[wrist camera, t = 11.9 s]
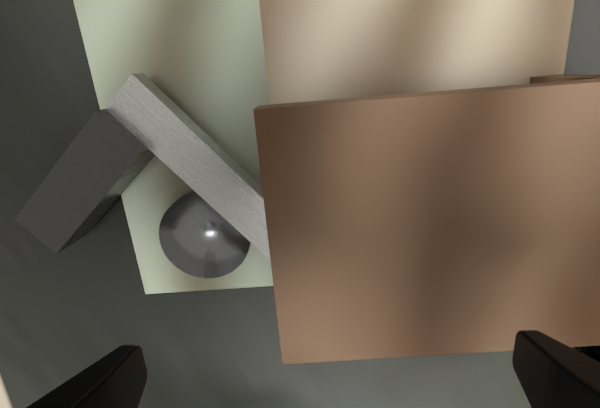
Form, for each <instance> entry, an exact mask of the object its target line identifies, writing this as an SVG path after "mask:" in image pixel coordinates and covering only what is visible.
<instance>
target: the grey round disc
mask: <svg viewBox="0 0 600 408" xmlns="http://www.w3.org/2000/svg"><path fill="white" fill-rule="evenodd" d="M159 240H160V244H161V247H162V250H163V252H164V254H165V255H166V257H167V258H168V259H169V261H170V262H171V263H172V264H173V265H174V266H175V267H177V268H178V269H180V270H181V271H183V272H185V273H187V274H189V275H191V276H195V277H199V278H217V277H221V276H224V275H227V274H229V273H231V272H232V271H234V270H235V269H237V268H238V267H239V266H240V265H241V264H242V262H243V261H244V259H245V258H246V256H247V253H248V250H249V247H250V244H251V242H250V241H248V240H247V239H246V238H245V237H244V236H243V235H242V234H241V233H240V232H239V231H238V230H236V229H235V228H234V227H233V226H232V225H231V224H230V223H229V222H228V221H227V220H226V219H224V218H223V217H222V216H221V215H220V214H219V213H218V212H217V211H216V210H215V209H214V208H212V207H211V206H210V205H209V204H208V203H207V202H206V201H205V200H204V199H203V198H202V197H200V196H199V195H198V194H197V193H196V192H195V191H194V190H192V191H189V192H187V193H185V194H184V195H182V196H181V197H179V198H178V199H177V200H176V201H175V202H174V203H173V204H172V205H171V206H170V207H169V208H168V210H167V211H166V212H165V214H164V215H163V217H162V219H161V222H160V226H159Z"/></svg>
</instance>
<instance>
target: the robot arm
mask: <svg viewBox="0 0 600 408" xmlns="http://www.w3.org/2000/svg"><path fill="white" fill-rule="evenodd" d="M513 367H514V370H515V372H516V375H517V377H518V379H519V381H520V383H521V385H522V388H523V390H524V392H525V394H526V396H527V399H528V401H529V403H530V405H531V407H532V408H600V345H599V346H583V347H582V351H581V353H580V352H578V351H576V350H574V349H572V348H570V347H569V346H567V345H565V344H563V343H561V342H559V341H557V340H555V339H553V338H551V337H549V336H547V335H546V334H544V333H542V332H540V331H537V330H521V331H518V332H517V334H516V337H515V344H514V352H513ZM146 381H147V369H146V365H145V360H144V356H143V352H142V349H141V347H140V346H139V345H137V344H134V345H122V346H120V347H118V348H117V349H115V350H114V351H112V352H111V353H109V354H108V355H106V356H105V357H103V358H101V359H100V360H98V361H97V362H95V363H94V364H92V365H91V366H89V367H88V368H86V369H85V370H83V371H82V372H80V373H79V374H77V375H75V376H74V377H72V378H71V379H69V380H68V381H66V382H65V383H63V384H62V385H60V386H59V387H57V388H56V389H54V390H52V391H51V392H49V393H48V394H46V395H45V396H43V397H42V398H40V399H39V400H37V401H36V402H34V403H33V404H31V405H29V406H28V407H26V408H138V405H139V402H140V399H141V396H142V393H143V390H144V387H145V384H146Z"/></svg>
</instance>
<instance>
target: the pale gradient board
mask: <svg viewBox="0 0 600 408" xmlns="http://www.w3.org/2000/svg"><path fill="white" fill-rule="evenodd" d="M73 1H74V6H75V10H76V14H77V18H78V22H79V26H80V30H81V34H82V38H83V42H84V46H85V50H86V54H87V58H88V62H89V66H90V71H91V75H92V79H93V83H94V87H95V91H96V95H97V99H98V103H99V107H100V110H102V109H105V108H106V107H107V106H108V104H109V103H110V102H111V100H112V99H113V98H114V96H115V95H116V94H117V93H118V91H119V90H120V89H121V87H122V86H123V85H124V83H125V82H126V81H127V79H128V78H129V77H130V75H131V74H139V73H144V74H145V75H146V76H147V77H148V78H149V79H150V80H151V81H152V82H153V83H154V84H155V85H156V86H157V87H158V88H159V89H160V90H161V91H163V92H164V93H165V94H166V95H167V96H168V97H169V98H170V99H171V100H172V101H173V102H174V103H175V104H176V105H177V106H178V107H179V108H180V109H181V110H182V111H183V112H184V113H185V114H187V115H188V116H189V117H190V118H191V119H192V120H193V121H194V122H195V123H196V124H197V125H198V126H199V127H200V128H201V129H202V130H203V131H204V132H205V133H206V134H207V135H208V136H209V137H210V138H212V139H213V140H214V141H215V142H216V143H217V144H218V145H219V146H220V147H221V148H222V149H223V150H224V151H225V152H226V153H227V154H228V155H229V156H230V157H231V158H232V159H233V160H234V161H236V162H237V163H238V164H239V165H240V166H241V167H242V168H243V169H244V170H245V171H246V172H247V173H248V174H249V175H250V176H251V177H252V178H253V179H254V180H255V181H256V182H257V183H258V184H259V185H261V186H262V190H263V199H264V208H265V216H266V225H267V234H268V242H269V251H270V260H271V261H270V260H269V259H268V258H267V257H266V256H265V255H264V254H263V253H262V252H260V251H259V250H258V249H257V248H256V247H255V246H254V245H253V244H252V243H251V244H250V247H249V250H248V253H247V256H246V258H245V259H244V261H243V262H242V264H241V265H240V266H239V267H238V268H237V269H235V270H234V271H232V272H231V273H229V274H227V275H224V276H221V277H217V278H199V277H195V276H191V275H189V274H187V273H185V272H183V271H181V270H180V269H178V268H177V267H175V266H174V265H173V264H172V263H171V262H170V261H169V259H168V258H167V257H166V255H165V254H164V252H163V250H162V247H161V244H160V240H159V226H160V222H161V219H162V217H163V215H164V214H165V212H166V211H167V210H168V208H169V207H170V206H171V205H172V204H173V203H174V202H175V201H176V200H177V199H178V198H179V197H181V196H182V195H184V194H185V193H187V192H189V191H192V190H193V189H192V188H191V187H190V186H188V185H187V184H186V183H185V182H184V181H183V180H182V179H181V178H180V177H179V176H178V175H177V174H175V173H174V172H173V171H172V170H171V169H170V168H169V167H168V166H167V165H166V164H165V163H163V162H162V161H161V160H160V159H159V158H158V157H157V156H156V155H155V156H154V157H153V158H152V159H151V160H150V161H149V163H148V164H147V165H146V166H145V167H144V168H143V170H142V171H141V172H140V173H139V174H138V175H137V177H136V178H135V179H134V180H133V181H132V182H131V184H130V185H129V186H128V187H127V188H126V190H125V191H124V192H123V193H122V194H121V197H122V201H123V205H124V209H125V213H126V217H127V221H128V225H129V229H130V233H131V237H132V241H133V245H134V249H135V254H136V258H137V262H138V266H139V270H140V274H141V278H142V282H143V286H144V290H145V294H155V293H170V292H185V291H201V290H216V289H231V288H247V287H262V286H274V294H275V303H276V312H277V320H278V329H279V338H280V346H281V355H282V364H295V363H312V362H329V361H346V360H363V359H379V358H396V357H413V356H430V355H447V354H464V353H481V352H498V351H514V344H515V337H516V334H517V332H518V331H521V330H537V331H540V332H542V333H544V334H546V335H547V336H549V337H551V338H553V339H555V340H557V341H559V342H561V343H563V344H565V345H567V346H569V347H582V346H599V345H600V75H564V69H565V62H566V55H567V48H568V41H569V34H570V27H571V20H572V13H573V7H574V0H73Z"/></svg>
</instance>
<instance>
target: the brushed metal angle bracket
mask: <svg viewBox="0 0 600 408" xmlns="http://www.w3.org/2000/svg"><path fill="white" fill-rule="evenodd" d="M155 155H156V156H157V157H158V158H159V159H160V160H161V161H162V162H163V163H165V164H166V165H167V166H168V167H169V168H170V169H171V170H172V171H173V172H174V173H175V174H177V175H178V176H179V177H180V178H181V179H182V180H183V181H184V182H185V183H186V184H187V185H188V186H190V187H191V188H192V189H193V190H194V191H195V192H196V193H197V194H198V195H199V196H200V197H202V198H203V199H204V200H205V201H206V202H207V203H208V204H209V205H210V206H211V207H212V208H214V209H215V210H216V211H217V212H218V213H219V214H220V215H221V216H222V217H223V218H224V219H226V220H227V221H228V222H229V223H230V224H231V225H232V226H233V227H234V228H235V229H236V230H238V231H239V232H240V233H241V234H242V235H243V236H244V237H245V238H246V239H247V240H248V241H250V242H251V243H252V244H253V245H254V246H255V247H256V248H257V249H258V250H259V251H260V252H262V253H263V254H264V255H265V256H266V257H267V258H268V259H269V260H270V251H269V242H268V234H267V225H266V216H265V208H264V199H263V190H262V186H261V185H259V184H258V183H257V182H256V181H255V180H254V179H253V178H252V177H251V176H250V175H249V174H248V173H247V172H246V171H245V170H244V169H243V168H242V167H241V166H240V165H239V164H238V163H237V162H236V161H234V160H233V159H232V158H231V157H230V156H229V155H228V154H227V153H226V152H225V151H224V150H223V149H222V148H221V147H220V146H219V145H218V144H217V143H216V142H215V141H214V140H213V139H212V138H210V137H209V136H208V135H207V134H206V133H205V132H204V131H203V130H202V129H201V128H200V127H199V126H198V125H197V124H196V123H195V122H194V121H193V120H192V119H191V118H190V117H189V116H188V115H187V114H185V113H184V112H183V111H182V110H181V109H180V108H179V107H178V106H177V105H176V104H175V103H174V102H173V101H172V100H171V99H170V98H169V97H168V96H167V95H166V94H165V93H164V92H163V91H161V90H160V89H159V88H158V87H157V86H156V85H155V84H154V83H153V82H152V81H151V80H150V79H149V78H148V77H147V76H146V75H145V74H144V73H139V74H131V75H130V77H129V78H128V79H127V81H126V82H125V83H124V85H123V86H122V87H121V89H120V90H119V91H118V93H117V94H116V95H115V96H114V98H113V99H112V100H111V102H110V103H109V104H108V106H107V107H106V108H105V109H102V110H96V111H94V113H93V114H92V115H91V117H90V118H89V119H88V121H87V122H86V123H85V125H84V126H83V127H82V129H81V130H80V131H79V133H78V134H77V136H76V137H75V138H74V140H73V141H72V142H71V144H70V145H69V146H68V148H67V149H66V150H65V152H64V153H63V154H62V156H61V157H60V158H59V160H58V161H57V162H56V164H55V165H54V166H53V168H52V169H51V170H50V172H49V173H48V174H47V176H46V177H45V179H44V180H43V181H42V183H41V184H40V185H39V187H38V188H37V189H36V191H35V192H34V193H33V195H32V196H31V197H30V199H29V200H28V201H27V203H26V204H25V205H24V207H23V208H22V209H21V211H20V212H19V213H18V215H17V216H16V217H15V219H14V220H15V221H16V222H17V223H19V224H20V225H21V226H22V227H23V228H25V229H26V230H27V231H28V232H30V233H31V234H32V235H33V236H35V237H36V238H37V239H38V240H40V241H41V242H42V243H43V244H44V245H46V246H47V247H48V248H49V249H51V250H52V251H53V252H54V253H56V254H57V253H59V252H60V251H62V250H63V249H65V248H66V247H68V246H69V245H71V244H73V243H74V242H76V241H77V240H79V239H80V238H82V237H83V236H85V235H86V234H88V233H89V232H90V231H91V229H92V228H93V227H94V226H95V225H96V223H97V222H98V221H99V220H100V219H101V218H102V216H103V215H104V214H105V213H106V212H107V211H108V209H109V208H110V207H111V206H112V205H113V204H114V202H115V201H116V200H117V199H118V198H119V197H120V195H121V194H122V193H123V192H124V191H125V190H126V188H127V187H128V186H129V185H130V184H131V182H132V181H133V180H134V179H135V178H136V177H137V175H138V174H139V173H140V172H141V171H142V170H143V168H144V167H145V166H146V165H147V164H148V163H149V161H150V160H151V159H152V158H153V157H154V156H155ZM270 261H271V260H270Z"/></svg>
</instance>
